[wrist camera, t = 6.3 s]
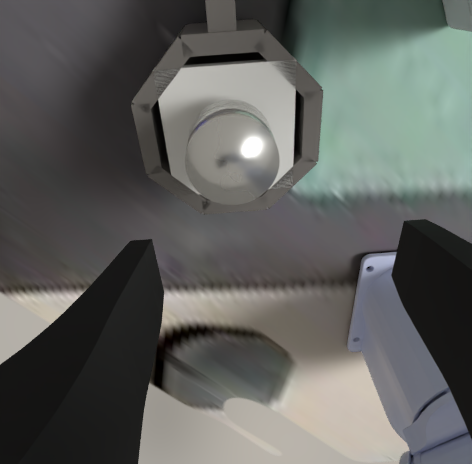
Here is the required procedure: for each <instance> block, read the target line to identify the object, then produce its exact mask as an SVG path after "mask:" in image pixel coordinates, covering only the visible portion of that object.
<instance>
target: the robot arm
mask: <svg viewBox="0 0 472 464" xmlns="http://www.w3.org/2000/svg"><path fill="white" fill-rule="evenodd" d="M369 266H371V267H370V268H367V267H369ZM163 299H164V290H163V286H162V281H161V277H160V273H159V268H158V264H157V260H156V255H155V251H154V246H153V242H152V239H148V240H134V241H130V242H129V243H128V244H127V245H126V246H125V247H124V249H123V250H122V251H121V252H120V253H119V254H118V255H117V257H116V258H115V259H114V260H113V261H112V262H111V263H110V265H109V266H108V267H107V268H106V269H105V270H104V271H103V273H102V274H101V275H100V276H99V277H98V278H97V279H96V280H95V281H94V282H93V284H92V285H91V286H90V287H89V288H88V289H87V290H86V291H85V292H84V293H83V294H82V295H81V296H80V297H79V298H78V299H77V300H76V301H75V302H74V303H73V304H72V305H71V306H70V307H69V308H68V309H67V310H66V311H65V312H64V313H63V314H62V315H61V316H60V317H59V318H58V319H56V320H55V321H54V322H53V323H52V324H51V325H50V326H49V327H48V328H46V329H45V330H44V331H43V332H42V333H40V334H39V335H38V336H37V337H36V338H34V339H33V340H32V341H31V342H30V343H28V344H27V345H26V346H25V347H23V348H22V349H21V350H19V351H18V352H17V353H15V354H14V355H13V356H11V357H10V358H9V359H7V360H6V361H5V362H3V363H2V364H1V365H0V464H138V459H139V448H140V439H141V430H142V421H143V413H144V406H145V400H146V395H147V390H148V385H149V381H150V376H151V371H152V367H153V362H154V357H155V352H156V348H157V343H158V338H159V333H160V328H161V323H162V312H163ZM347 347H348V350H349V351H351V352H358V351H362V354H363V356H364V359H365V362H366V364H367V367H368V369H369V372H370V374H371V377H372V380H373V382H374V385H375V387H376V390H377V392H378V395H379V397H380V400H381V403H382V405H383V408H384V410H385V413H386V415H387V418H388V420H389V422H390V424H391V425H392V427H393V429H394V430H395V431H396V432H397V434H398V435H399V436H400V437H401V438H402V439H403V440H404V441H405V442H406V443H407V444H408V447H409V449H410V451H407V452H405V453H403V455H402V456H401V458H400V462H399V464H472V244H471V243H469V242H467V241H466V240H464V239H462V238H460V237H458V236H457V235H455V234H453V233H451V232H449V231H448V230H446V229H444V228H442V227H440V226H438V225H436V224H434V223H432V222H430V221H428V220H426V219H424V220H410V221H404V223H403V228H402V232H401V236H400V240H399V245H398V249H397V252H389V253H376V254H368V255H366V256H364V257H363V258H362V260H361V266H360V272H359V278H358V284H357V289H356V295H355V301H354V307H353V313H352V319H351V324H350V330H349V336H348V342H347Z"/></svg>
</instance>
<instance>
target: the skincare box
mask: <svg viewBox="0 0 472 464" xmlns="http://www.w3.org/2000/svg"><path fill="white" fill-rule="evenodd" d="M442 1H443V6H444V10H445V15H446V21H447V24H448V25H449V27H451V28H453V29H459V30H465V31H472V0H442Z"/></svg>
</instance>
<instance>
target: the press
mask: <svg viewBox="0 0 472 464" xmlns="http://www.w3.org/2000/svg"><path fill="white" fill-rule="evenodd" d="M205 4H206V15H207V23H194V24H187V25H186V26H184V27H183V28H182V30H181V31H180V33H179V34H178V35H177V37H176V38H175V40H174V41H173V42H172V44H171V45H170V47H169V48H168V49H167V51H166V52H165V54H164V55H163V57H162V58H161V59H160V61H159V62H158V64H157V65H156V66H155V68H154V69H153V71H152V72H151V73H150V75H149V76H148V78H147V79H146V81H145V82H144V84H143V85H142V87H141V88H140V90H139V91H138V93H137V94H136V96H135V97H134V99H133V100H132V104H131V108H132V112H133V117H134V121H135V126H136V131H137V135H138V140H139V144H140V149H141V154H142V158H143V163H144V167H145V172H146V174H148V177H149V178H150V179H152V180H153V181H155V182H156V183H158V184H159V185H160V186H162V187H163V188H165V189H166V190H168V191H169V192H170V193H172V194H173V195H175V196H176V197H178V198H179V199H181V200H182V201H183V202H185V203H186V204H188V205H189V206H191V207H192V208H194V209H195V210H196V211H198V212H199V213H201V214H202V213H204V214H217V213H230V212H244V211H257V210H267V207H268V208H271V207H272V206H273V205H274V204H275V203H276V202H277V201H278V200H279V199H280V198H281V197H282V196H283V195H284V194H285V193H286V192H288V191H289V190H290V189H291V188H292V187H293V186H294V185H295V184H296V183H297V182H298V181H299V180H300V179H301V178H302V177H303V176H305V175H306V174H307V173H308V172H309V171H310V170H311V169H312V168H313V167H314V166H315V165H316V164H317V163H316V162H318V155H319V141H320V128H321V114H322V100H323V90H322V89H321V88H322V87H321V86H320V85H319V84H318V83H317V82H316V81H315V80H314V79H313V78H312V76H311V75H310V74H309V73H308V72H307V71H306V70H305V69H304V68H303V67H302V66H301V65H300V64H299V63H298V62H297V60H296V59H295V58H294V57H292V56H291V54H290V53H289V52H288V51H287V50H286V49H285V48H284V47H283V46H282V45H281V44H280V43H279V42H278V41H277V40H276V39H275V38H274V37H273V36H272V35H271V34H270V32H269V31H268V30H267V29H266V28H265V27H264V26H263V25H262V24H261V23H260V22H259V21H258V20H257V21H256V19H249V20H236V8H235V0H205ZM230 99H234V100H240V101H244V102H247V103H249V104H251V105H253V106H254V107H256V108H257V109H258V110H259V111H260V112H261V113H262V114H263V115H264V116H265V118H266V119H267V121H268V123H269V125H270V128H271V131H272V134H273V136H274V139H275V142H276V145H277V147H278V151H279V158H280V163H279V170H278V173H277V176H276V178H275V180H274V182H273V183H272V185H271V186H270V188H269V189H268V190H267V191H266V192H265V193H263V194H262V195H261V196H259V197H258V198H256V199H254V200H252V201H250V202H247V203H243V204H238V205H225V204H220V203H216V202H213V201H211V200H209V199H207V198H206V197H204V196H202V195H201V194H200V193H199V192H198V191H197V190H196V189H195V188H194V187H193V185H192V184H191V182H190V180H189V178H188V176H187V173H186V168H185V155H186V149H187V143H188V137H189V131H190V128H191V125H192V123H193V121H194V119H195V118H196V116H197V115H198V114H199V113H200V112H201V111H202V110H203V109H204V108H205V107H207V106H209V105H210V104H212V103H215V102H218V101H221V100H230Z"/></svg>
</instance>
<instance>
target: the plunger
mask: <svg viewBox="0 0 472 464" xmlns="http://www.w3.org/2000/svg"><path fill="white" fill-rule="evenodd" d="M279 163H280V158H279V151H278V147H277V145H276V142H275V139H274V136H273V134H272V131H271V128H270V125H269V123H268V121H267V119H266V118H265V116H264V115H263V114H262V113H261V112H260V111H259V110H258V109H257V108H256V107H254V106H253V105H251V104H249V103H247V102H244V101H240V100H234V99H230V100H221V101H218V102H215V103H212V104H210V105H209V106H207V107H205V108H204V109H203V110H202V111H201V112H200V113H199V114H198V115H197V116H196V118H195V119H194V121H193V123H192V125H191V128H190V131H189V137H188V143H187V149H186V155H185V168H186V173H187V176H188V178H189V180H190V182H191V184H192V185H193V187H194V188H195V189H196V190H197V191H198V192H199V193H200V194H201V195H202V196H204V197H206V198H207V199H209V200H211V201H213V202H216V203H220V204H225V205H238V204H243V203H247V202H250V201H252V200H254V199H256V198H258V197H259V196H261V195H262V194H263V193H265V192H266V191H267V190H268V189H269V188H270V186H271V185H272V183H273V182H274V180H275V178H276V176H277V173H278V170H279Z"/></svg>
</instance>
